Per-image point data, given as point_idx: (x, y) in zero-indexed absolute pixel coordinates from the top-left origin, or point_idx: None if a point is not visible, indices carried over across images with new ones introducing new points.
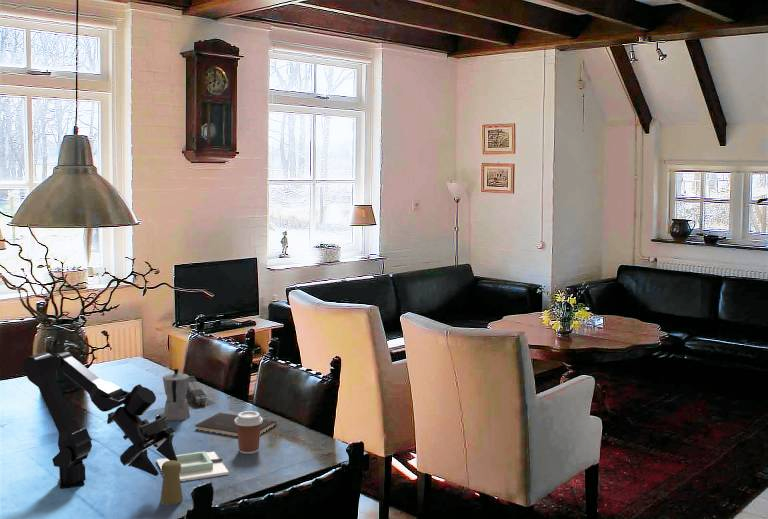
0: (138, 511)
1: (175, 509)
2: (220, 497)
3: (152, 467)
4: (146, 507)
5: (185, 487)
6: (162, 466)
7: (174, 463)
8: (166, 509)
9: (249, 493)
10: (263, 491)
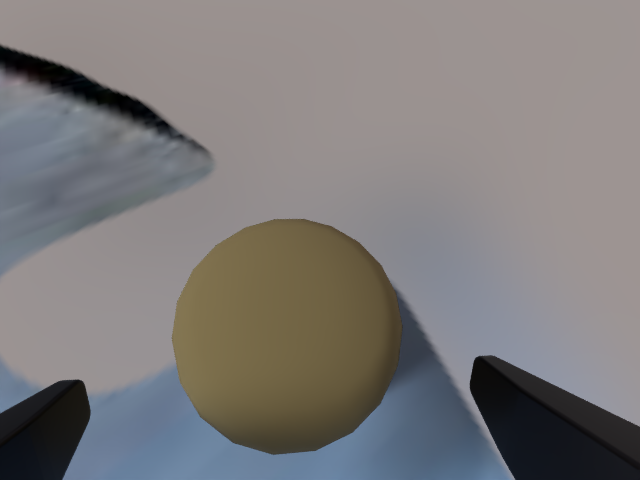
0: (487, 460)
1: None
2: (182, 187)
3: (606, 412)
4: (425, 452)
5: None
6: (384, 388)
7: (305, 246)
8: None
9: (117, 118)
10: (89, 89)
